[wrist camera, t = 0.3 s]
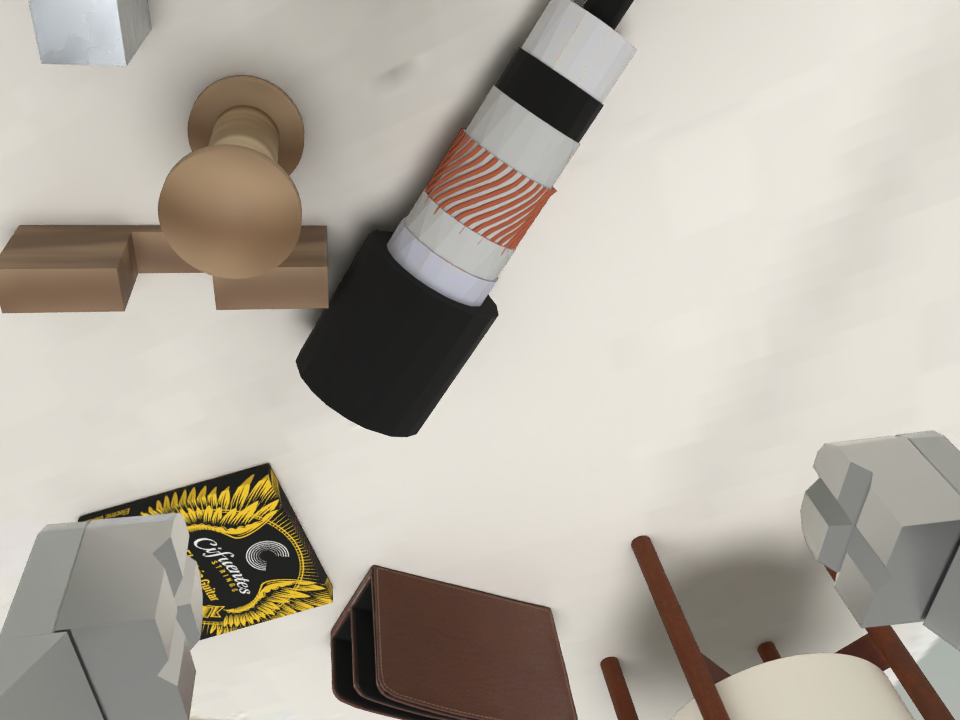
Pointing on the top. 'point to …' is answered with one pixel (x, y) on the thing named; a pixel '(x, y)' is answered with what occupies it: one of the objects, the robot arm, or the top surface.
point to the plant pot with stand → (782, 673)
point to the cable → (463, 229)
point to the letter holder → (447, 653)
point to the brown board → (141, 270)
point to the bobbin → (236, 181)
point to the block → (89, 30)
